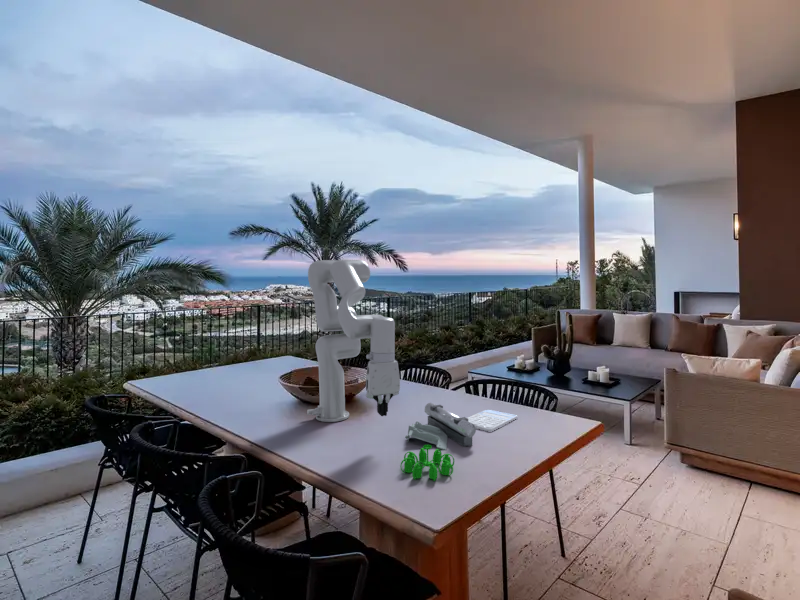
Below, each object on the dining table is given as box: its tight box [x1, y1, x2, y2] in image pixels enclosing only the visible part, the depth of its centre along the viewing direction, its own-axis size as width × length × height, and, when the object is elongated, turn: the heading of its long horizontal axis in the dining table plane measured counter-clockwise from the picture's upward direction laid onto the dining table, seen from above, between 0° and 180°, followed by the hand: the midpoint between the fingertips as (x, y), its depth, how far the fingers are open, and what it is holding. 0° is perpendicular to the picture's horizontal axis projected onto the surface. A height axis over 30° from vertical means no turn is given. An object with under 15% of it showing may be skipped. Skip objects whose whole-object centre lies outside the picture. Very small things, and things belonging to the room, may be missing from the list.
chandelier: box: [399, 444, 455, 482], centre depth 116 cm, size 15×15×7 cm
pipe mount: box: [424, 402, 477, 448], centre depth 144 cm, size 4×26×7 cm, turn 24°
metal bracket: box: [405, 421, 449, 451], centre depth 138 cm, size 14×6×15 cm
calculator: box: [466, 409, 518, 433], centre depth 157 cm, size 13×20×2 cm, turn 137°
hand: (382, 414), depth 135 cm, fingers closed
